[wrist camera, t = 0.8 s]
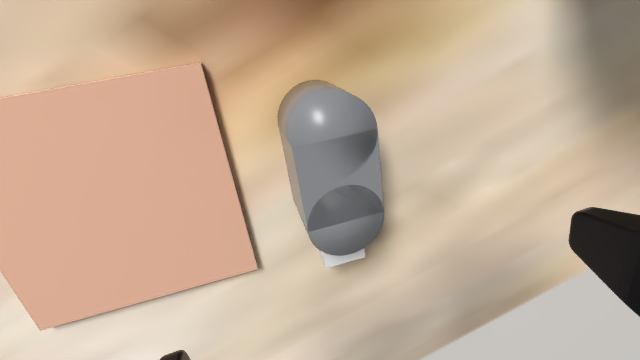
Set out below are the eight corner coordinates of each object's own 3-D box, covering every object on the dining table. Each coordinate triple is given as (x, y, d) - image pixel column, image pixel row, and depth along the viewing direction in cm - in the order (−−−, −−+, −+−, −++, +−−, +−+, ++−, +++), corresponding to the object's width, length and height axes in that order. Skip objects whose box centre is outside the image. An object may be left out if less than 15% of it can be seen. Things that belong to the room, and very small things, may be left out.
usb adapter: (270, 88, 18) (283, 102, 15) (344, 73, 19) (373, 84, 15) (303, 247, 22) (318, 288, 19) (362, 230, 23) (388, 267, 20)
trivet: (201, 62, 17) (200, 63, 16) (256, 263, 22) (257, 269, 21) (-92, 113, 15) (-103, 116, 14) (45, 322, 20) (40, 330, 19)
